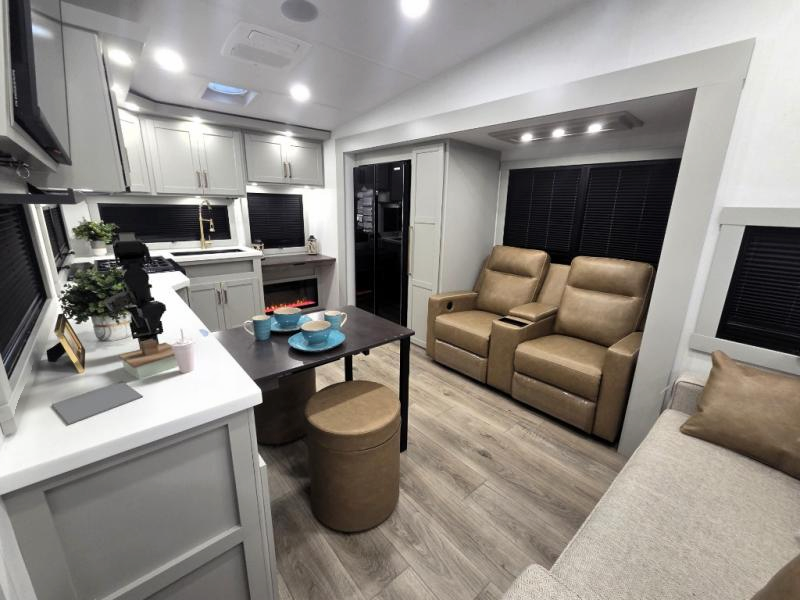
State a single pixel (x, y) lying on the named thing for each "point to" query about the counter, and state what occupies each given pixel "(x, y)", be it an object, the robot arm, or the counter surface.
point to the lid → (148, 353)
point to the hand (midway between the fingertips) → (146, 330)
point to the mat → (95, 402)
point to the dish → (151, 367)
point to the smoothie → (184, 353)
